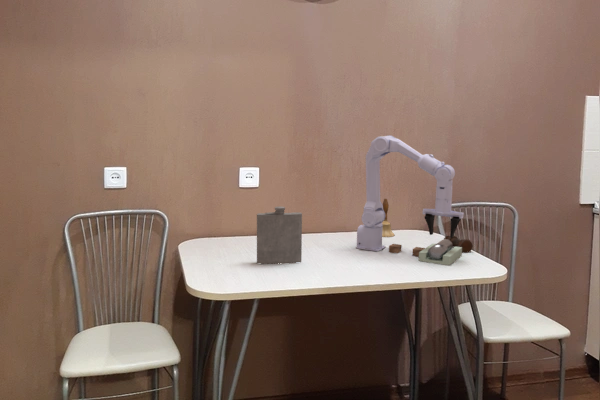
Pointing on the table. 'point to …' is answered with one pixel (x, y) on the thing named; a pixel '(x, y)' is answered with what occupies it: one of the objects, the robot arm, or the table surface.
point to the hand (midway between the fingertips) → (441, 235)
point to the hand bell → (386, 222)
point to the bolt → (461, 243)
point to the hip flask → (279, 237)
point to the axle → (440, 249)
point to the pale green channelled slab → (444, 260)
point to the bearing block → (397, 248)
